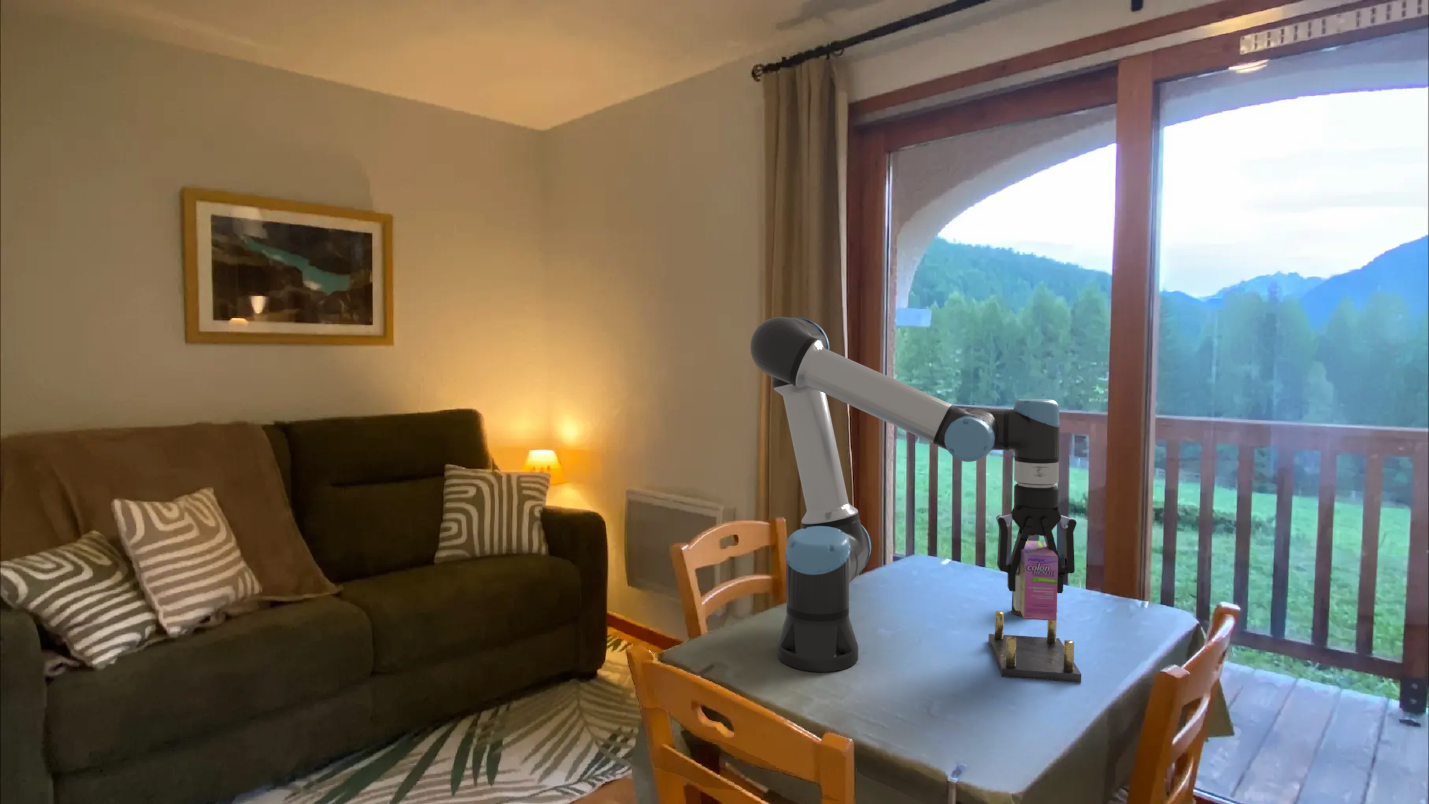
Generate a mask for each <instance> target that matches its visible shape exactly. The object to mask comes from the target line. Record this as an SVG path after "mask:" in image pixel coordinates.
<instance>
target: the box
mask: <svg viewBox="0 0 1429 804" xmlns="http://www.w3.org/2000/svg"><path fill="white" fill-rule="evenodd" d="M1015 542H1016V540H1015V541H1014V543H1015ZM1017 572H1018V573H1019V574H1020V612H1021V614H1022V616H1023V617H1022V616H1021V617H1022V618H1023V619H1024V620H1033V621H1034V620H1036V621H1037V620H1038V621H1048V620H1058V616H1057V615H1058V614H1057V613H1058V593H1057V580H1058V556H1057V555H1056V554H1055V552H1054V551H1053V550H1049V548H1048V547H1047V545H1046V542H1045V540H1043V541H1042V540H1027V541H1026V544H1025V547H1024V549H1021V559H1020V562H1019V565H1018V568H1017Z"/></svg>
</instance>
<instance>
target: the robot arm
mask: <svg viewBox="0 0 1429 804" xmlns="http://www.w3.org/2000/svg"><path fill="white" fill-rule="evenodd" d="M829 341H830V340H829V339H828V336H827V334H826V332H825V331H824V329H823V328H822V326H820V325H818V323H815V322H814V321H812V320H810V319H808V318H803V317H799V316H797V317H796V316H795V317H789V316H788V317H787V316H776V317H772V318H769V319H766V320H764V321H763V322H762V323H760V325H758V326H757V327H756V329H755V330H754V332H753V333H752V336H751V340H750V345H749V349H750V355H751V358H752V360H753V363H754V364H755V365H756V367H757V368H758V369H759V370H760V371H761V372H763V373H764V374H766V375H768V376H769V377H770V378H771V382H772V387H773V391H775V392H777V393H778V394H780V395H781V396H782V397H783V403H784V409H785V413H786V418H787V423H788V427H789V432H790V436H791V441H792V446H793V447H792V448H793V452H794V456H795V462H796V466H797V471H798V475H799V480H800V485H801V491H802V495H803V499H804V504H805V509H806V511H805V514H804V516H803V517H802V519H801V521H800V522H801V526H802V528H800V529H797V530H795V531H793V532H792V533H791V534H790V535H789V537H788V539H787V541H786V549H785V555H784V556H785V560H786V563H785V564H786V566H785V567H786V568H785V569H786V572H785V573H786V574H785V576H786V577H785V578H786V584H785V586H786V587H785V588H786V590H785V591H786V600H785V601H786V614H785V618H784V620H783V623H782V626H781V630H780V633H779V636H778V639H777V643H776V656H777V659H778V660H780V662H781V663H783V664H785V665H786V666H788V667H792V668H794V669H797V670H801V671H807V672H817V673H819V672H820V673H822V672H823V673H824V672H837V671H842V670H845V669H848V668H851V667H852V666H854V665H855V664H856V663H857V662H858V661H859V645H858V642H857V638H856V635H855V631H854V628H853V625H852V623H851V619H850V583H851V582H852V581H853V580H854V579H855V578H856V577H857V576H858V575H859V574H861V573H862V571H863V570H864V569H865V568H866V566H867V564H868V562H869V559H870V557H871V556H870V555H871V553H872V551H871V550H872V543H871V537H870V536H869V535H870V534H869V533H868V531H867V530H866V528H865V527H864V526H863V525H862V524H861V520H860V514H859V510H858V508H856V507H854V506H853V505H851V504H850V503H849V497H848V493H847V489H846V485H845V480H844V479H845V478H844V475H843V469H842V465H841V459H840V454H839V450H838V446H837V442H836V436H835V431H834V426H833V421H832V416H831V412H830V407H829V402H828V399H827V396H829V397H831V398H834V399H836V400H838V401H840V402H843V403H845V404H847V405H849V406H851V407H853V408H856V409H858V410H860V411H862V412H864V413H867V414H869V415H871V416H873V417H875V418H877V419H879V420H880V421H881V420H882V421H884V422H886V423H888V424H891V425H893V426H895V427H896V428H899V429H901V430H903V431H906V432H908V433H910V434H912V435H915V436H916V437H919V438H921V439H923V440H925V441H927V442H929V443H932V444H934V445H936V446H937V447H939V448H941V449H944V450H947V452H949V454H950V455H951V456H952V457H953V458H954V459H956V460H958V461H961V462H965V463H972V462H976V461H980V460H981V459H984V458H985V457H986V456H988V454H989V453H990V452H991V451H1006V452H1007V451H1010V452H1011V451H1014V460H1013V461H1014V464H1013V465H1014V467H1013V468H1014V470H1013V471H1014V472H1013V481H1015V482H1016V483H1015V485H1014V486H1013V507H1012V510H1011V513H1009V514H1004V515H1001V514H998V515H997V516H996V523H997V525H998V540H997V542H998V543H997V556H996V557H997V561H996V566H997V568H998V569H999V570H1000V572H1005V573H1006V574H1007V585H1006V586H1007V588H1008V590H1009V592H1012V591H1013V606H1014V608H1015V610H1016V611H1020V574H1019V573H1018V572H1017V568H1018V565H1019V562H1020V559H1021V549H1024V547H1025V544H1026V541H1029V536H1031V537H1032V536H1036V535H1037V536H1041V537H1043V539H1044V541H1045V542H1046V545H1047V547H1048V548H1049V550H1053V551H1054V552H1055V554H1056V555H1057V556H1058V580H1057V594H1063V591H1064V577H1065V576H1066V575H1068V574H1074V573H1075V570H1076V568H1075V566H1076V564H1075V542H1074V539H1075V537H1074V536H1075V535H1074V532H1075V529H1076V526H1077V523H1078V522H1077V520H1076V519H1075V518H1073V517H1072V516H1065V515H1062V513H1061V512H1060V510H1059V494H1060V493H1059V492H1060V490H1059V489H1060V488H1059V487H1058V485H1057V484H1059V482H1060V481H1059V480H1060V478H1059V477H1060V476H1059V475H1060V474H1059V473H1060V471H1059V469H1060V466H1059V463H1060V462H1059V461H1060V457H1059V456H1060V434H1061V433H1060V429H1061V427H1060V426H1061V425H1060V406H1059V404H1058V403H1057V401H1055V400H1053V399H1049V398H1019V399H1016V401H1014V406H1013V408H1011V409H1005V410H1004V409H980V408H977V409H976V408H975V409H974V408H971V409H970V408H967V407H965V408H961V407H959V406H956V405H953V404H951V403H949V402H947V401H944V400H942V399H940V398H938V397H936V396H934V395H931V394H929V393H927V392H925V391H922V390H920V389H918V388H915V387H913V386H911V385H909V384H906V383H904V382H903V381H900V380H897V379H895V378H892V377H890V376H888V375H887V374H884V373H882V372H879V371H876V370H874V369H872V368H870V367H868V366H866V365H863V364H860V363H859V362H856V361H854V360H852V359H850V358H848V357H845V356H842V355H841V354H839V353H836V352H834V351H832V350H830V342H829ZM1012 521H1013V522H1014V523H1015V524H1016V525H1017V527H1018V528H1019V529H1018V531H1017V534H1016V535H1017V536H1016V538H1015V541H1016V542H1015V541H1014V545H1013V549H1012V552H1011V555H1010V558H1009V561H1008V563H1007V556H1008V540H1009V539H1008V536H1009V531H1008V529H1009V528H1010V527H1011V524H1012V523H1011V522H1012ZM1059 522H1060V526H1061V528H1063V532H1062V533H1063V534H1062V536H1063V557H1064V558H1063V561H1064V563H1063V564H1064V565H1063V564H1062V562H1061V558H1060V555H1059V552H1058V548H1057V545H1056V542H1055V536H1054V534H1053V530H1054V529H1055V527H1056V526H1057V525H1058V524H1059Z"/></svg>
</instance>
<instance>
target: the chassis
mask: <svg viewBox="0 0 1429 804" xmlns="http://www.w3.org/2000/svg"><path fill="white" fill-rule="evenodd" d="M1057 620H1058V619H1057ZM1057 620H1047V623H1046V624H1047V625H1046V626H1047V628H1046V630H1047V631H1046V636H1045V637H1044V636H1032V635H1031V636H1029V635H1028V636H1027V635H1015V634H1014V635H1012V634H1004V629H1005V628H1004V626H1005V625H1004V623H1005V612H1003V611H1001V610H996V611H994V633H988V637H987V638H988V644H989V647H990V649H991V651H992V654H993V657H994V660H995V662H996V665H997V667H998V670H999V672H1000V676H1001V677H1002V678H1011V679H1013V678H1014V679H1026V680H1039V681H1040V680H1041V681H1051V682H1052V681H1054V682H1055V681H1056V682H1067V683H1078V684H1079V683H1082V673H1081V671H1080V669H1079V668H1078V667H1077V665H1076V663H1075V641H1073V640H1071V639H1065V640H1064V641H1063V642H1064V643H1063V642H1062V640H1061V639H1060V638H1059V637H1057V625H1058V623H1057Z"/></svg>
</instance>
